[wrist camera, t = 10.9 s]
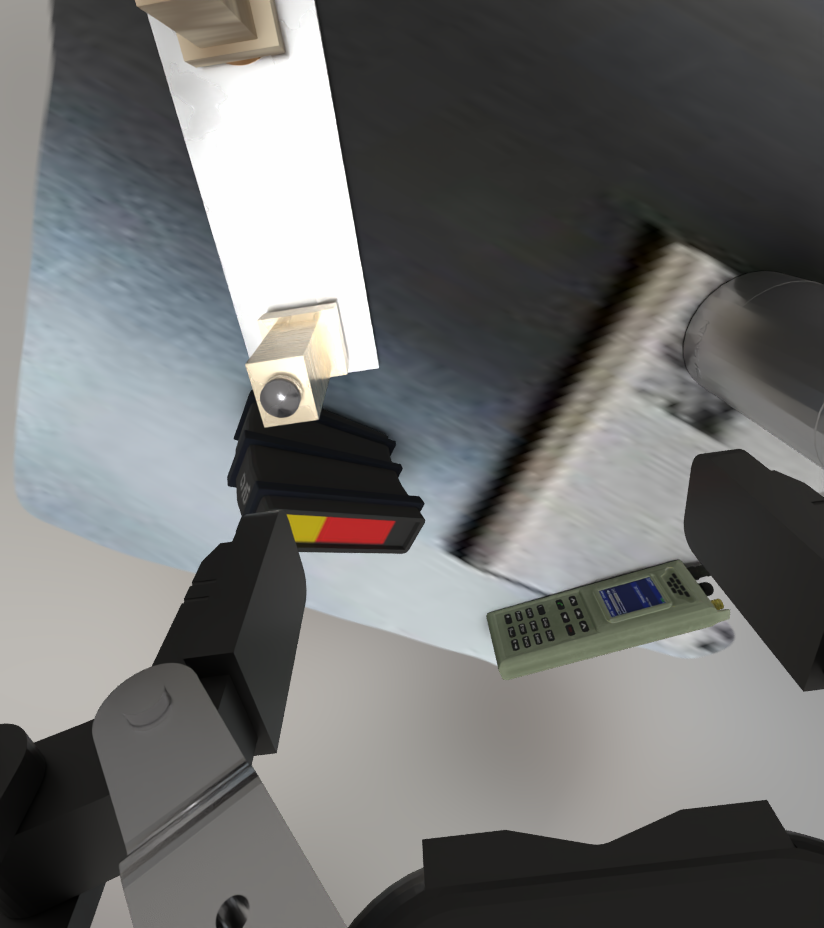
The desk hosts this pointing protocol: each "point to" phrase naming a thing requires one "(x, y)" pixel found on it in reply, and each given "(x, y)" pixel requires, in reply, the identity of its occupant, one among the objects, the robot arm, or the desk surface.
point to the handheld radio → (603, 618)
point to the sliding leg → (220, 28)
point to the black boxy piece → (325, 483)
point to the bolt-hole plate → (278, 211)
